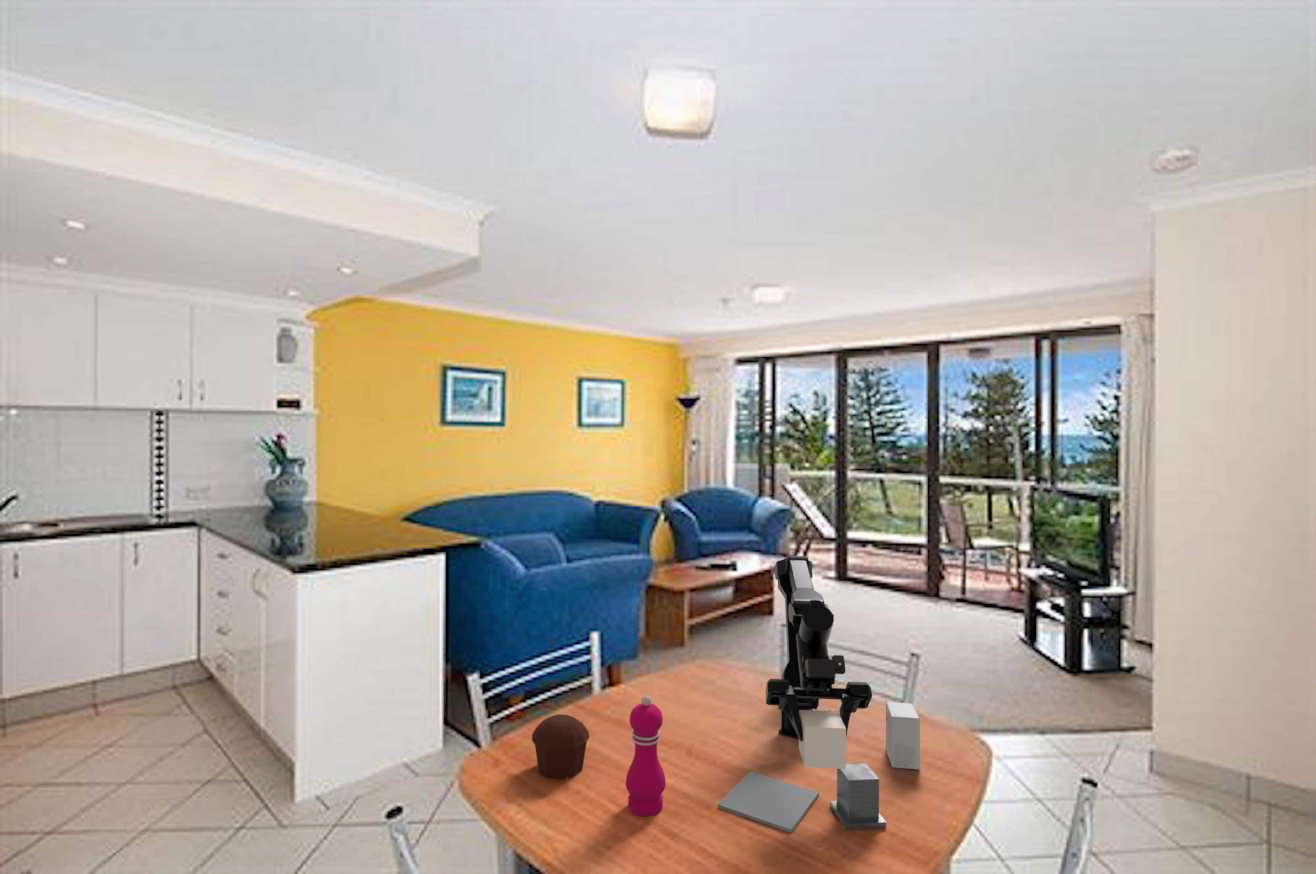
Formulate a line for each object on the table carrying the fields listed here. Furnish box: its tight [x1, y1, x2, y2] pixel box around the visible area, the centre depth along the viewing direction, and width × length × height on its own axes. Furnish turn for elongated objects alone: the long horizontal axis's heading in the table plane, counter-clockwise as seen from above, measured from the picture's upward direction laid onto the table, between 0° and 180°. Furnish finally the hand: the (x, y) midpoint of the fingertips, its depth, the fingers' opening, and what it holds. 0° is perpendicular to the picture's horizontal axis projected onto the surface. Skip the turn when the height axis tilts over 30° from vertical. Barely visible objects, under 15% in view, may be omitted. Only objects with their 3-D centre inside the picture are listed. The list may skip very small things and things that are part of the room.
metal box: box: [829, 762, 887, 831], centre depth 115 cm, size 7×7×8 cm
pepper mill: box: [625, 695, 667, 817], centre depth 117 cm, size 7×7×20 cm
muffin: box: [531, 714, 591, 781], centre depth 131 cm, size 12×11×10 cm
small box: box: [885, 701, 921, 771], centre depth 135 cm, size 8×6×10 cm
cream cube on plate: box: [798, 709, 847, 770], centre depth 116 cm, size 7×7×7 cm
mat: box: [717, 771, 820, 834], centre depth 119 cm, size 14×14×1 cm
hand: (822, 741), depth 114 cm, fingers closed on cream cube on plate, 7 cm apart
